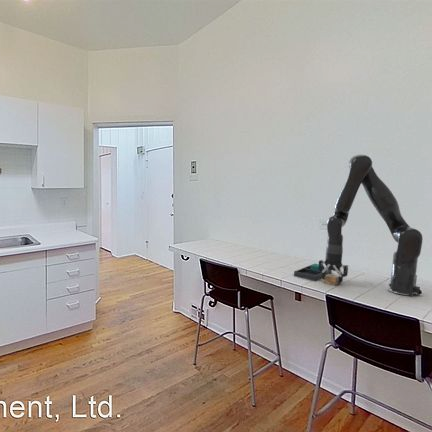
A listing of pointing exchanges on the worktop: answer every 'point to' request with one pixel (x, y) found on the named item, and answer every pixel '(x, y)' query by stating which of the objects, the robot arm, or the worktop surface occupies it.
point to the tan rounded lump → (331, 279)
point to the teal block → (315, 267)
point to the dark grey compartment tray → (310, 273)
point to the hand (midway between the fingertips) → (331, 281)
